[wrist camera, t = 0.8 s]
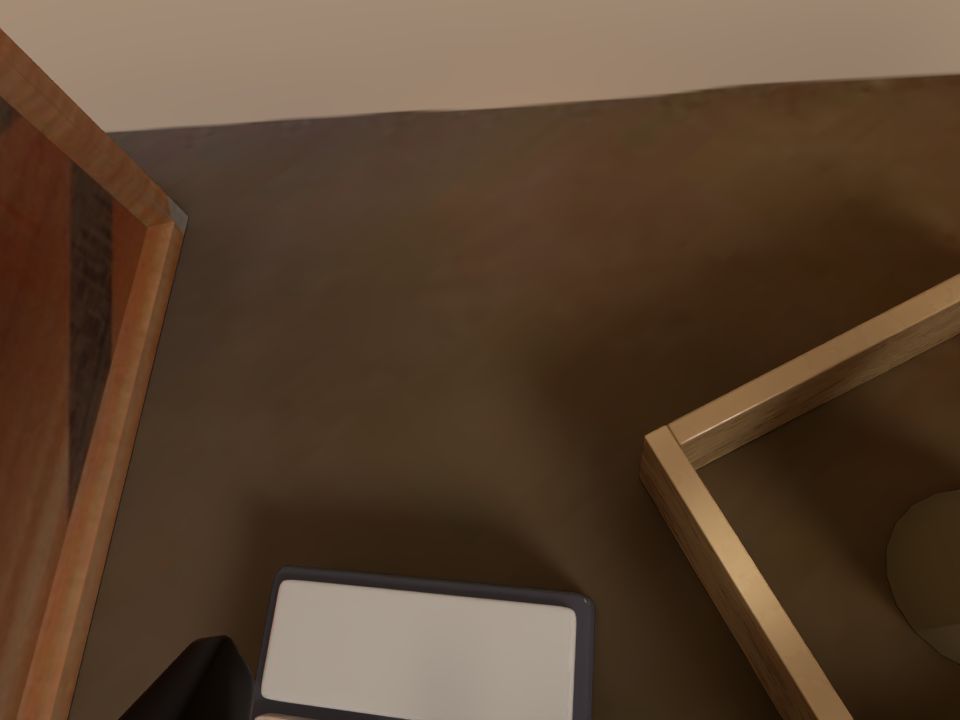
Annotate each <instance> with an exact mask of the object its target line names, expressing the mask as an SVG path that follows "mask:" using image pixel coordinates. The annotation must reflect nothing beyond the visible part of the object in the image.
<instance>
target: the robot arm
mask: <svg viewBox="0 0 960 720" xmlns="http://www.w3.org/2000/svg"><path fill="white" fill-rule="evenodd" d="M254 695H255V683H254V678H253V675H252V672H251V671H250V669H249V667H248V665H247V664H246V662H245V660H244V659H243V657H242V655H241V654H240V652H239V650H238V649H237V647H236V645H235V644H234V642H233V641H232V639H231V638H229V637H227V636H223V635H221V636H214V637H207V638H201V639H198V640H195V641H194V642H192V643H191V644H190V645H189V646H188V647H187V648H186V649H185V650H184V651H183V652H182V653H181V654H180V655H179V656H178V657H177V658H176V659H175V660H174V661H173V663H172V664H171V665H170V666H169V667H168V668H167V669H166V670H165V671H164V672H163V673H162V674H161V675H160V676H159V677H158V678H157V679H156V680H155V681H154V682H153V684H152V685H151V686H150V687H149V688H148V689H147V690H146V691H145V692H144V693H143V694H142V695H141V696H140V697H139V698H138V699H137V700H136V701H135V702H134V703H133V704H132V706H131V707H130V708H129V709H128V710H127V711H126V712H125V713H124V714H123V715H122V716H121V717H120V718H119V719H118V720H251V715H252V709H253V702H254Z"/></svg>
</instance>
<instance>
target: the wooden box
mask: <svg viewBox="0 0 960 720" xmlns="http://www.w3.org/2000/svg"><path fill="white" fill-rule="evenodd" d="M187 221H188V216H187V215H186V214H185V213H184V212H183V211H182V210H181V209H180V208H179V207H178V206H177V205H176V204H175V203H174V202H173V201H172V200H171V199H170V197H169V196H168V195H167V194H166V193H165V192H164V191H163V190H162V189H161V188H160V187H159V186H158V185H157V184H156V183H155V182H154V181H153V180H152V179H151V178H150V177H149V176H148V175H147V174H146V173H145V172H144V171H143V170H142V169H141V168H140V167H139V166H138V165H137V164H136V163H135V162H134V161H133V160H132V159H131V158H130V157H129V156H128V155H127V154H126V153H125V152H124V151H123V150H122V149H121V148H120V147H119V146H118V145H117V144H116V143H115V142H114V141H113V140H112V139H111V138H110V137H109V136H108V135H107V134H106V133H105V132H104V131H103V130H102V129H100V128H99V126H97V124H95V122H93V121H92V120H91V118H90V117H89V116H88V115H87V114H86V113H85V112H83V110H81V108H79V107H78V106H77V104H76V103H75V102H74V101H72V99H71V98H70V97H69V96H67V94H66V93H65V92H64V91H63V90H61V88H59V86H58V85H56V84H55V83H54V81H53V80H51V79H50V78H49V76H48V75H47V74H45V72H44V71H42V69H41V68H40V67H39V66H37V65H36V63H35V62H33V61H32V59H31V58H29V57H28V55H26V53H24V51H23V50H22V49H20V48H19V47H18V46H17V44H15V42H14V41H13V40H11V39H10V37H9V36H7V35H6V33H4V32H3V30H1V28H0V720H67V719H68V714H69V710H70V706H71V702H72V698H73V694H74V689H75V685H76V681H77V677H78V673H79V669H80V665H81V660H82V656H83V652H84V648H85V644H86V640H87V636H88V631H89V627H90V623H91V619H92V615H93V611H94V607H95V602H96V598H97V594H98V590H99V586H100V582H101V578H102V573H103V569H104V565H105V561H106V557H107V553H108V549H109V544H110V540H111V536H112V532H113V528H114V524H115V519H116V515H117V511H118V507H119V503H120V499H121V495H122V490H123V486H124V482H125V478H126V474H127V470H128V466H129V461H130V457H131V453H132V449H133V445H134V441H135V437H136V432H137V428H138V424H139V420H140V416H141V412H142V408H143V403H144V399H145V395H146V391H147V387H148V383H149V379H150V374H151V370H152V366H153V362H154V358H155V354H156V350H157V345H158V341H159V337H160V333H161V329H162V325H163V320H164V316H165V312H166V308H167V304H168V300H169V296H170V291H171V287H172V283H173V279H174V275H175V271H176V267H177V262H178V258H179V254H180V250H181V246H182V242H183V238H184V233H185V229H186V225H187Z"/></svg>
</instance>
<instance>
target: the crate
mask: <svg viewBox="0 0 960 720" xmlns="http://www.w3.org/2000/svg"><path fill="white" fill-rule="evenodd" d="M959 333H960V273H959V274H957V275H955V276H953V277H951V278H949V279H947V280H946V281H944V282H942V283H940V284H938V285H936V286H934V287H932V288H930V289H928V290H926V291H924V292H922V293H920V294H918V295H916V296H915V297H913V298H911V299H909V300H907V301H905V302H903V303H901V304H899V305H897V306H895V307H893V308H891V309H889V310H887V311H885V312H884V313H882V314H880V315H878V316H876V317H874V318H872V319H870V320H868V321H866V322H864V323H862V324H860V325H858V326H856V327H854V328H852V329H851V330H849V331H847V332H845V333H843V334H841V335H839V336H837V337H835V338H833V339H831V340H829V341H827V342H825V343H823V344H821V345H820V346H818V347H816V348H814V349H812V350H810V351H808V352H806V353H804V354H802V355H800V356H798V357H796V358H794V359H792V360H790V361H789V362H787V363H785V364H783V365H781V366H779V367H777V368H775V369H773V370H771V371H769V372H767V373H765V374H763V375H761V376H759V377H758V378H756V379H754V380H752V381H750V382H748V383H746V384H744V385H742V386H740V387H738V388H736V389H734V390H732V391H730V392H728V393H726V394H725V395H723V396H721V397H719V398H717V399H715V400H713V401H711V402H709V403H707V404H705V405H703V406H701V407H699V408H697V409H695V410H694V411H692V412H690V413H688V414H686V415H684V416H682V417H680V418H678V419H676V420H674V421H672V422H670V423H668V425H667V426H666V425H664V426H662V427H660V428H658V429H656V430H654V431H652V432H650V433H648V434H647V435H645V436H644V442H643V449H642V457H641V465H640V472H639V478H640V479H641V481H642V483H643V484H644V486H645V488H646V489H647V491H648V493H649V495H650V496H651V498H652V500H653V501H654V503H655V505H656V506H657V508H658V510H659V511H660V513H661V515H662V516H663V518H664V520H665V522H666V523H667V525H668V527H669V528H670V530H671V532H672V533H673V535H674V537H675V538H676V540H677V542H678V543H679V545H680V547H681V549H682V550H683V552H684V554H685V555H686V557H687V559H688V560H689V562H690V564H691V565H692V567H693V569H694V570H695V572H696V574H697V576H698V577H699V579H700V581H701V582H702V584H703V586H704V587H705V589H706V591H707V592H708V594H709V596H710V597H711V599H712V601H713V603H714V604H715V606H716V608H717V609H718V611H719V613H720V614H721V616H722V618H723V619H724V621H725V623H726V625H727V626H728V628H729V630H730V631H731V633H732V635H733V636H734V638H735V640H736V641H737V643H738V645H739V646H740V648H741V650H742V652H743V653H744V655H745V657H746V658H747V660H748V662H749V663H750V665H751V667H752V668H753V670H754V672H755V673H756V675H757V677H758V679H759V680H760V682H761V684H762V685H763V687H764V689H765V690H766V692H767V694H768V695H769V697H770V699H771V700H772V702H773V704H774V706H775V707H776V709H777V711H778V712H779V714H780V716H781V717H782V719H783V720H854V719H853V718H852V716H851V715H850V713H849V711H848V710H847V708H846V707H845V705H844V704H843V702H842V700H841V699H840V697H839V696H838V694H837V693H836V691H835V689H834V688H833V686H832V685H831V683H830V682H829V680H828V678H827V677H826V675H825V674H824V672H823V671H822V669H821V667H820V666H819V664H818V663H817V661H816V660H815V658H814V656H813V655H812V653H811V652H810V650H809V649H808V647H807V645H806V644H805V642H804V641H803V639H802V638H801V636H800V634H799V633H798V631H797V630H796V628H795V627H794V625H793V623H792V622H791V620H790V619H789V617H788V616H787V614H786V612H785V611H784V609H783V608H782V606H781V605H780V603H779V601H778V600H777V598H776V597H775V595H774V594H773V592H772V590H771V589H770V587H769V586H768V584H767V583H766V581H765V579H764V578H763V576H762V575H761V573H760V572H759V570H758V568H757V567H756V565H755V564H754V562H753V561H752V559H751V557H750V556H749V554H748V553H747V551H746V550H745V548H744V546H743V545H742V543H741V542H740V540H739V539H738V537H737V535H736V534H735V532H734V531H733V529H732V528H731V526H730V524H729V523H728V521H727V520H726V518H725V517H724V515H723V513H722V512H721V510H720V509H719V507H718V506H717V504H716V502H715V501H714V499H713V498H712V496H711V495H710V493H709V491H708V490H707V488H706V487H705V485H704V484H703V482H702V480H701V479H700V477H699V476H698V474H697V473H696V471H695V470H696V469H698V468H700V467H702V466H704V465H706V464H708V463H710V462H712V461H714V460H716V459H718V458H720V457H722V456H723V455H725V454H727V453H729V452H731V451H733V450H735V449H737V448H739V447H741V446H743V445H745V444H747V443H749V442H750V441H752V440H754V439H756V438H758V437H760V436H762V435H764V434H766V433H768V432H770V431H772V430H774V429H776V428H778V427H779V426H781V425H783V424H785V423H787V422H789V421H791V420H793V419H795V418H797V417H799V416H801V415H803V414H805V413H807V412H808V411H810V410H812V409H814V408H816V407H818V406H820V405H822V404H824V403H826V402H828V401H830V400H832V399H834V398H836V397H837V396H839V395H841V394H843V393H845V392H847V391H849V390H851V389H853V388H855V387H857V386H859V385H861V384H863V383H865V382H866V381H868V380H870V379H872V378H874V377H876V376H878V375H880V374H882V373H884V372H886V371H888V370H890V369H892V368H894V367H895V366H897V365H899V364H901V363H903V362H905V361H907V360H909V359H911V358H913V357H915V356H917V355H919V354H921V353H923V352H924V351H926V350H928V349H930V348H932V347H934V346H936V345H938V344H940V343H942V342H944V341H946V340H948V339H950V338H952V337H953V336H955V335H957V334H959Z"/></svg>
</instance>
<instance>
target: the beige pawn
mask: <svg viewBox="0 0 960 720" xmlns="http://www.w3.org/2000/svg"><path fill="white" fill-rule="evenodd" d="M886 559H887V578H888V581H889V584H890V587H891V590H892V593H893V596H894V599H895V602H896V605H897V606H898V608H899V609H900V611H901V612H902V614H903V615H904V616H905V618H906V619H907V621H908V622H909V624H910V625H911V627H912V628H913V630H914V631H915V632H916V633H917V634H918V635H919V636H920V637H921V638H923V639H924V640H925V641H926V642H927V643H928V644H929V645H931V646H932V647H933V648H934V649H935V650H936V651H938V652H939V653H940V654H941V655H942V656H944V657H946V658H948V659H950V660H952V661H954V662H956V663H958V664H960V489H959V490H953V491H947V492H941V493H936V494H934V495H932V496H930V497H928V498H926V499H924V500H922V501H920V502H918V503H916V504H914V505H912V506H911V507H910V509H909V510H908V511H907V512H906V513H905V514H904V515H903V516H902V517H901V518H900V519H899V520H898V521H897V523H896V524H895V526H894V529H893V532H892V534H891V537H890V540H889V542H888V545H887V548H886Z"/></svg>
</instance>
